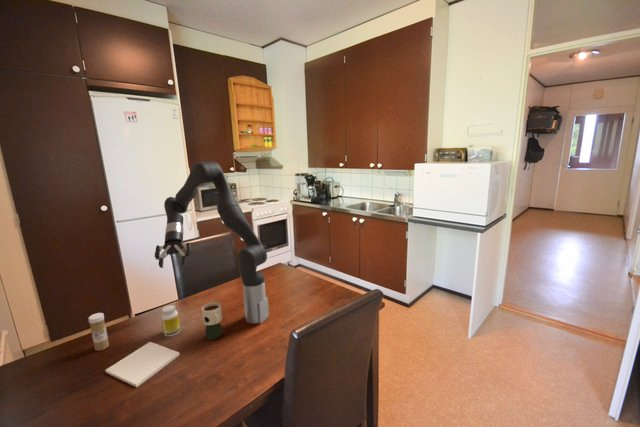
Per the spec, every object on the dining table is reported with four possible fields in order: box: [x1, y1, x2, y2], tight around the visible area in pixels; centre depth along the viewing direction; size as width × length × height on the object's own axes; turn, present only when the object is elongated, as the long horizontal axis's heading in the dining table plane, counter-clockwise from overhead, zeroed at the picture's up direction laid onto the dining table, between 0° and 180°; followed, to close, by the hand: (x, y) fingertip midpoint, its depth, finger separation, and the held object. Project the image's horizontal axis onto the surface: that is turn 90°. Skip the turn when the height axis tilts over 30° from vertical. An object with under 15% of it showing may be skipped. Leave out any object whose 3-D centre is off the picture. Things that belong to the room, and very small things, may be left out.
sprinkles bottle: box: [88, 312, 110, 351], centre depth 109 cm, size 5×5×14 cm
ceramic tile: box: [105, 341, 180, 388], centre depth 101 cm, size 16×16×1 cm
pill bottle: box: [160, 304, 181, 338], centre depth 117 cm, size 6×6×11 cm
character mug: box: [201, 301, 223, 341], centre depth 114 cm, size 11×7×13 cm, turn 44°
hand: (172, 266), depth 126 cm, fingers open, 8 cm apart
